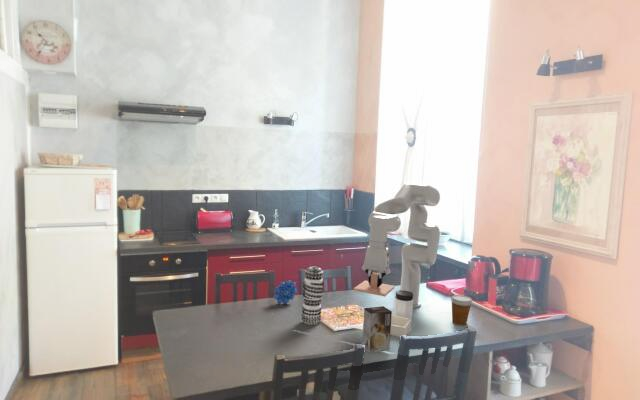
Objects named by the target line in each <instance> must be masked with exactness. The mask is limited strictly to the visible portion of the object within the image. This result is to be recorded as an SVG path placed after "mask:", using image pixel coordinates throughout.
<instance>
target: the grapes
mask: <svg viewBox="0 0 640 400" xmlns="http://www.w3.org/2000/svg"><path fill="white" fill-rule="evenodd" d="M296 285H297V284H296V281H295V282H292V280H291V279H287V280H286V281H281V282H280V283H279V284H278V286H277V287H276V288H275V289H274V293H275V294H274V296H273V299H274V300H276V302H277V304H284V305H286V304H288V303H289V302H290V301H293V299H294V298H295V294H297V293H298V289H297V286H296Z"/></svg>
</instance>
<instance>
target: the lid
mask: <svg viewBox="0 0 640 400" xmlns="http://www.w3.org/2000/svg"><path fill="white" fill-rule="evenodd" d="M378 278H379V272H374V271H373V273H372V274H371V284H370V285H369V283H368V280H364V281H362V282H360V283H359V284H358V285H356V286H355V287H353V291H355V292H360V293H365V294H370V295H373V296H375V295H376V296H380V297H384V298H385V297H387V295H389V293H391V292H392V291H393V290H394V289H395V287H396V286H395V285H394V284H393V285H391V284H387V283H382V285H381V286H380V287H377V279H378Z"/></svg>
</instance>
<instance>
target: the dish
mask: <svg viewBox="0 0 640 400" xmlns="http://www.w3.org/2000/svg"><path fill="white" fill-rule="evenodd" d="M412 321H413V319H409V318H405V317H400V316H395V315H393V314H392V315H391V330H390V336H393V337H397V338H401V337H400V336H401V335H407V336H408V335H409V334H410V332H411V330H412Z"/></svg>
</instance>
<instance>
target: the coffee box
mask: <svg viewBox="0 0 640 400" xmlns="http://www.w3.org/2000/svg"><path fill="white" fill-rule="evenodd" d="M391 315H393V312H392V310H390V309H388V307H385V306H374V307H365V308H363V318H364V322H363V330H362V337H361V338H362V340H361V341H362V342H361V345H362V344H363V345H365V349H364V350H365V351H366V352H368V353H369V354H372V353H379V352H385V351H387V350H390V345H391V344H390V343H391V341H390V340H391V335H390V330H391Z"/></svg>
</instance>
